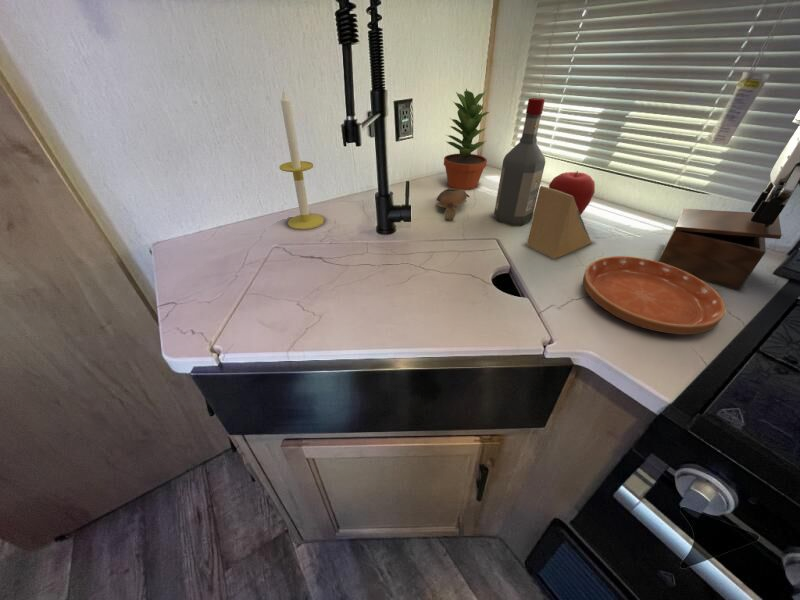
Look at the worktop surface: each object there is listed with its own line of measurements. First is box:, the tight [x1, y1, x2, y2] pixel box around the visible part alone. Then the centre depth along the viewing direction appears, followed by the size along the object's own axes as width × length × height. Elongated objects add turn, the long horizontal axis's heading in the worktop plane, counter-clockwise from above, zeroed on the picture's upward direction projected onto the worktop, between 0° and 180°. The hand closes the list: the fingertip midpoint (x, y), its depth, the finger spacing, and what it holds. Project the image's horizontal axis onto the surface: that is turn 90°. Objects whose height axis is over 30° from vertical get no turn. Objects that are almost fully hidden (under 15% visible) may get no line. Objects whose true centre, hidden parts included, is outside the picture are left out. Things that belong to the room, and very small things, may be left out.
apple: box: [548, 170, 596, 216], centre depth 97 cm, size 12×12×13 cm
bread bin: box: [657, 216, 767, 291], centre depth 76 cm, size 15×13×9 cm
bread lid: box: [674, 208, 783, 240], centre depth 71 cm, size 16×13×5 cm
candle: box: [279, 87, 325, 230], centre depth 89 cm, size 10×10×32 cm
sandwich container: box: [526, 185, 593, 259], centre depth 83 cm, size 9×15×15 cm, turn 123°
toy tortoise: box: [435, 187, 471, 221], centre depth 105 cm, size 20×5×10 cm
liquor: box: [493, 97, 546, 227], centre depth 91 cm, size 9×9×30 cm
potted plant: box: [443, 87, 490, 191], centre depth 115 cm, size 15×15×30 cm
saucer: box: [582, 255, 726, 335], centre depth 67 cm, size 23×23×4 cm
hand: (761, 216), depth 69 cm, fingers closed on bread lid, 5 cm apart
